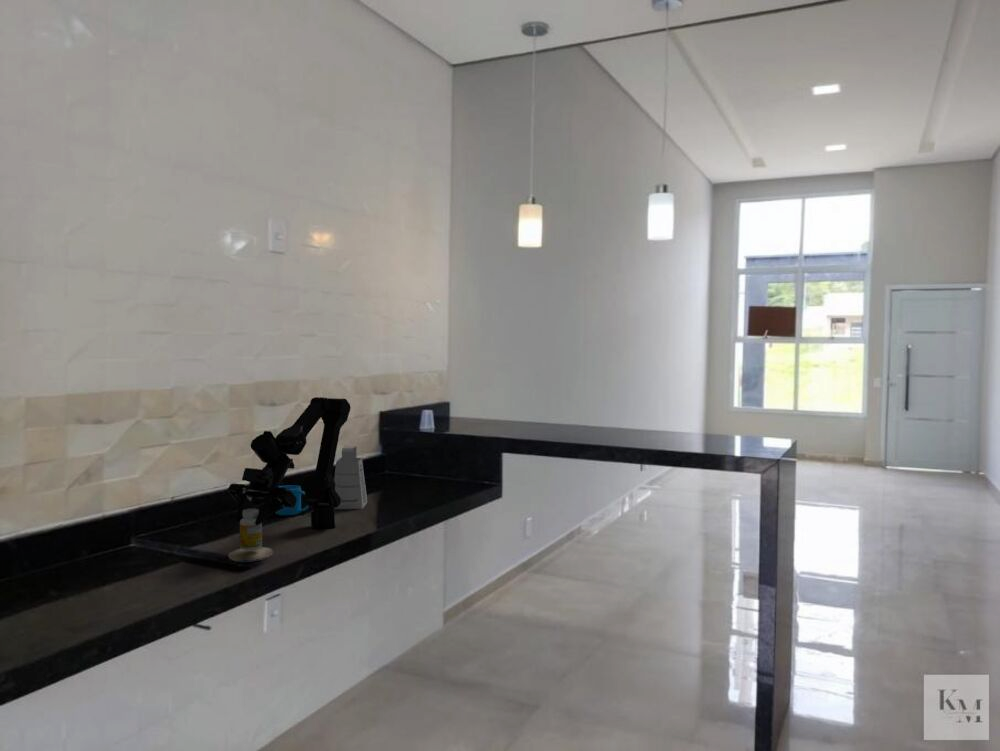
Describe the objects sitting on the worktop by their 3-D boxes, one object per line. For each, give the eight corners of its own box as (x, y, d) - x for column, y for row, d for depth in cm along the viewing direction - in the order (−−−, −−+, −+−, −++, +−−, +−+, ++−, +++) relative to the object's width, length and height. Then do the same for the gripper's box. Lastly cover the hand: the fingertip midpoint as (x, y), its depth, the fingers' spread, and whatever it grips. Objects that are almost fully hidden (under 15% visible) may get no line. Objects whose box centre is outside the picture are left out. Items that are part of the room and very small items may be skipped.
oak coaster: (274, 549, 196) (274, 545, 195) (270, 561, 185) (270, 557, 185) (231, 551, 193) (231, 548, 193) (225, 564, 182) (225, 560, 182)
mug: (270, 514, 235) (270, 489, 234) (283, 509, 243) (282, 484, 242) (304, 516, 232) (304, 491, 232) (316, 510, 240) (316, 486, 240)
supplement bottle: (239, 545, 190) (238, 509, 190) (260, 543, 193) (259, 506, 192) (241, 551, 185) (240, 513, 185) (263, 548, 188) (262, 511, 187)
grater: (367, 501, 254) (367, 444, 253) (362, 508, 243) (362, 449, 242) (337, 502, 253) (336, 444, 252) (331, 509, 243) (330, 449, 242)
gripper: (230, 453, 195) (201, 503, 185) (289, 457, 188) (262, 509, 178) (251, 477, 203) (224, 526, 193) (307, 481, 196) (282, 532, 186)
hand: (247, 523), depth 187 cm, fingers closed on supplement bottle, 5 cm apart
